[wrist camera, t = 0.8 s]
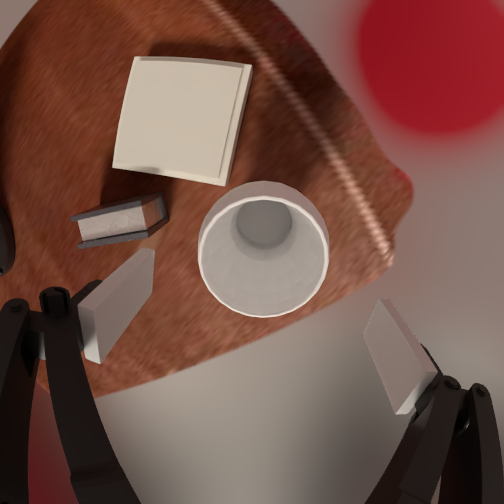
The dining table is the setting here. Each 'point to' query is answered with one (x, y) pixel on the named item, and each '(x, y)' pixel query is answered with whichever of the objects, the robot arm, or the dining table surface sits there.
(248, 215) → the cup
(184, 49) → the dining table surface
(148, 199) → the napkin holder
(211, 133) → the pedestal
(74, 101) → the dining table surface
